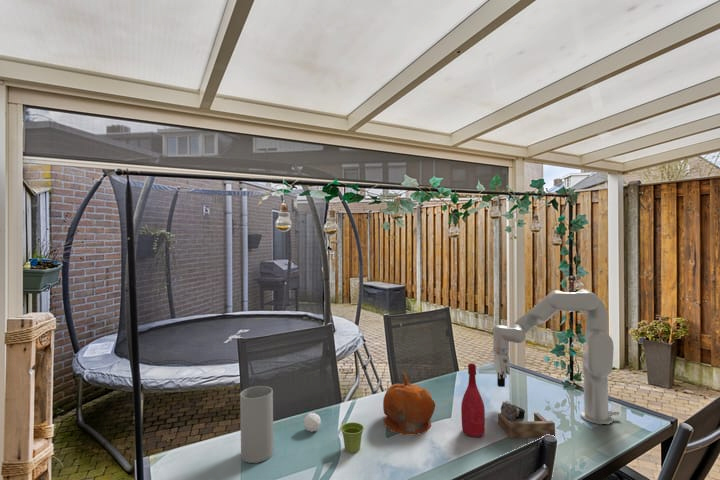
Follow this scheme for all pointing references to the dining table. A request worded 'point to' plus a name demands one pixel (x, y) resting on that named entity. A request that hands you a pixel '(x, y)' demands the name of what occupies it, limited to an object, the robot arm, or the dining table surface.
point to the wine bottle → (473, 407)
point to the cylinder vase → (256, 424)
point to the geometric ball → (312, 422)
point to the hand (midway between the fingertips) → (501, 386)
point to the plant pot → (352, 436)
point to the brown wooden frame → (527, 427)
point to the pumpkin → (408, 408)
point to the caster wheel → (511, 411)
